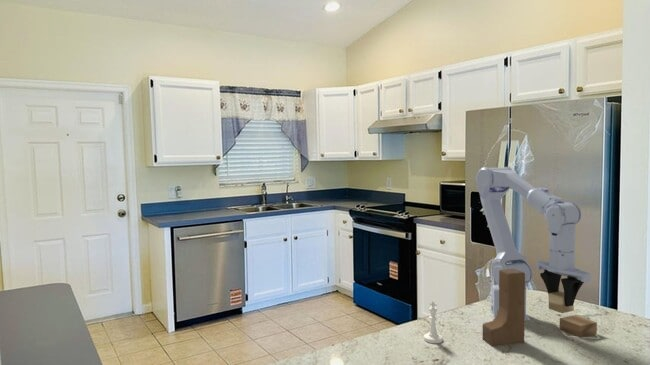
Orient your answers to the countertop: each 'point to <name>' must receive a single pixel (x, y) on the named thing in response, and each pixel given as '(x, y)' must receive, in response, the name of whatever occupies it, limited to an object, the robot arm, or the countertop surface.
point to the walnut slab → (578, 326)
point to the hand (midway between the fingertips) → (561, 303)
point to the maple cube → (558, 302)
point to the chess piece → (433, 327)
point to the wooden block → (508, 311)
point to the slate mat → (576, 336)
